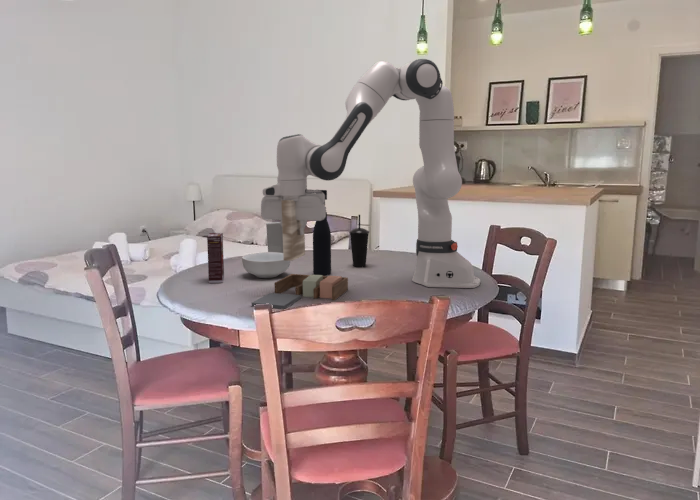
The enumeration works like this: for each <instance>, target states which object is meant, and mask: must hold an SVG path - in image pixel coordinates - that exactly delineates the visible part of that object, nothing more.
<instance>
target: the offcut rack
mask: <svg viewBox="0 0 700 500" xmlns="http://www.w3.org/2000/svg"><path fill="white" fill-rule="evenodd" d="M310 275H311V274H301V273H300V274H299V273H298V274H297V273H291V274H289V275H287V276H285V277H283V278H281V279H279V280H277V281H275V282H274V285H273V286H274V293H279V294H284V293H285V292H286V291H288V290H289V289H291V288H294V289H295V293H294V295H301V296H303V280H304V279H306V278H307V277H308V276H310ZM328 276H329V275H327V276H323V279H325V278H327V277H328ZM348 290H349V278H348V277H344V276H342V280H341V281H340V282H338V283H337V284H335V285H334V286H333V287H332V299H331V301H336V300H337V299H338V298H340V297H341V296H342V295H343V294H345V293H346V292H347V291H348ZM313 291H314V297H313V299H314V300H317V299H318V298H320V285H319V286H317V287H316V288H314V289H313Z"/></svg>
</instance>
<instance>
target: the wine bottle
mask: <svg viewBox="0 0 700 500" xmlns="http://www.w3.org/2000/svg"><path fill="white" fill-rule="evenodd" d="M319 190H320V191H322V192H323V193H324V194H325V201H326V200H328V190H327V189H319ZM320 193H321V192H320ZM324 204H325V205H326V202H325V203H324ZM325 211H326V217H325V218H324V220H321V221H315V223H314V227H313V230H312V231H313V233H312V269H313V270H312V272H313V273H312V275H323V276H331V275H332V232H331V228H330V224H329V222H328V212H327V207H326V206H325Z"/></svg>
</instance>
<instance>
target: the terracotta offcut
mask: <svg viewBox="0 0 700 500" xmlns="http://www.w3.org/2000/svg"><path fill="white" fill-rule="evenodd" d="M327 276H328V277H327V278H325V279H323V280H322V281H320V297H319V298H321V299H331V300H332V287H333V286H334V285H335V284H337V283H338V282H340V281H341V280H342V277H343V276H341V275H327Z"/></svg>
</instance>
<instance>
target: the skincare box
mask: <svg viewBox="0 0 700 500" xmlns="http://www.w3.org/2000/svg"><path fill="white" fill-rule="evenodd" d="M265 225H266V238H267V239H266V241H267V252H277V253H283V231H282V226H281V224H280V221H272V222H268V223H266V224H265Z"/></svg>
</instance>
